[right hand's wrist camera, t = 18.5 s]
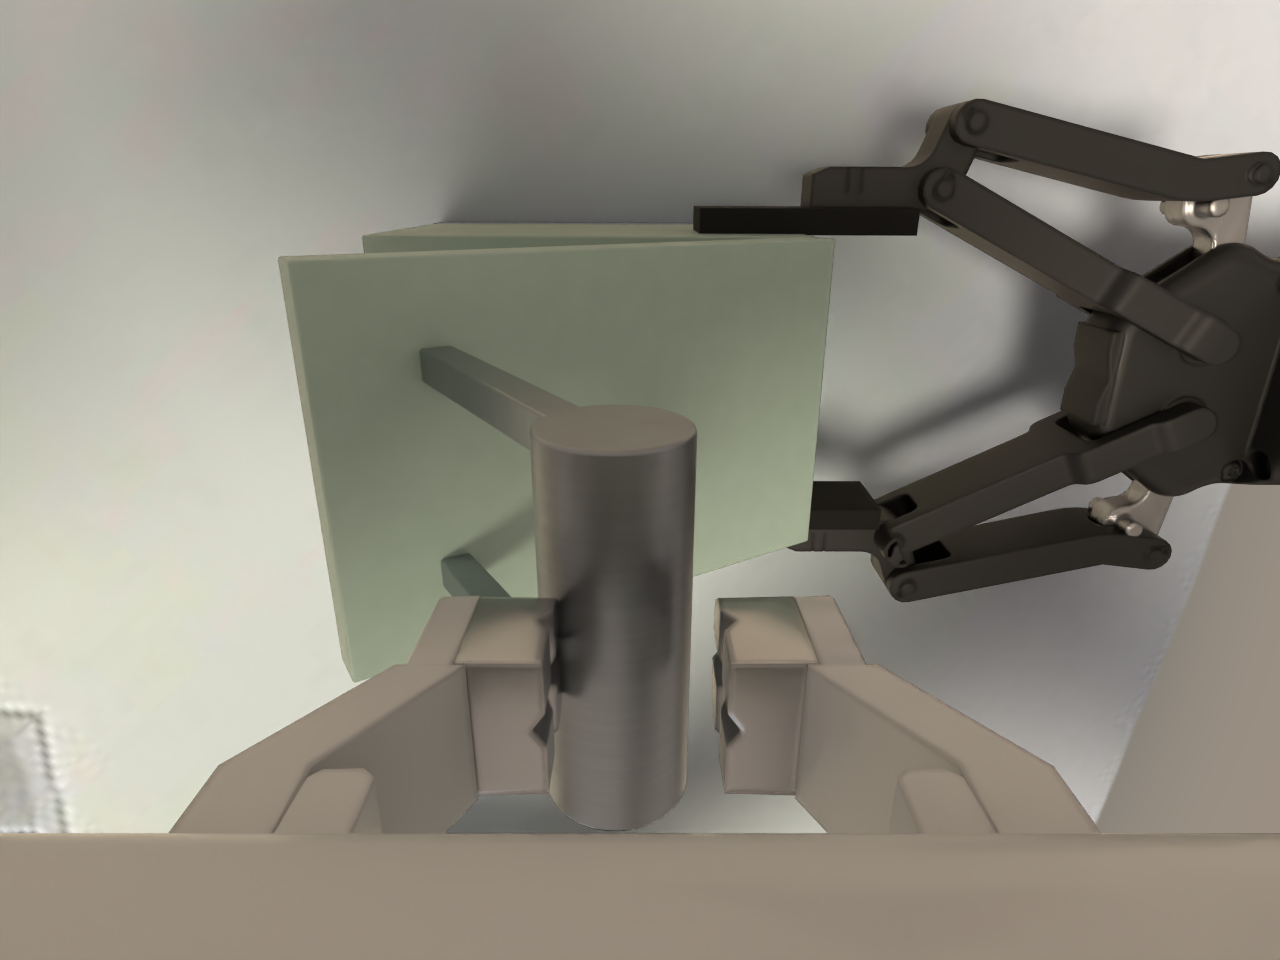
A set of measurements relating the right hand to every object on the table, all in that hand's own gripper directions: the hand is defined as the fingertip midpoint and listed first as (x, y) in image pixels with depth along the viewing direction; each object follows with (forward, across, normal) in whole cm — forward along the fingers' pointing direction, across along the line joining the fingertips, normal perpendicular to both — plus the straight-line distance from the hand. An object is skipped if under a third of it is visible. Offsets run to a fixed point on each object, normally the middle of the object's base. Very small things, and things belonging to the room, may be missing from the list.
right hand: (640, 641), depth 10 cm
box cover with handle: (+10, -1, 0) cm, 10 cm away
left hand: (+16, +2, 0) cm, 16 cm away
